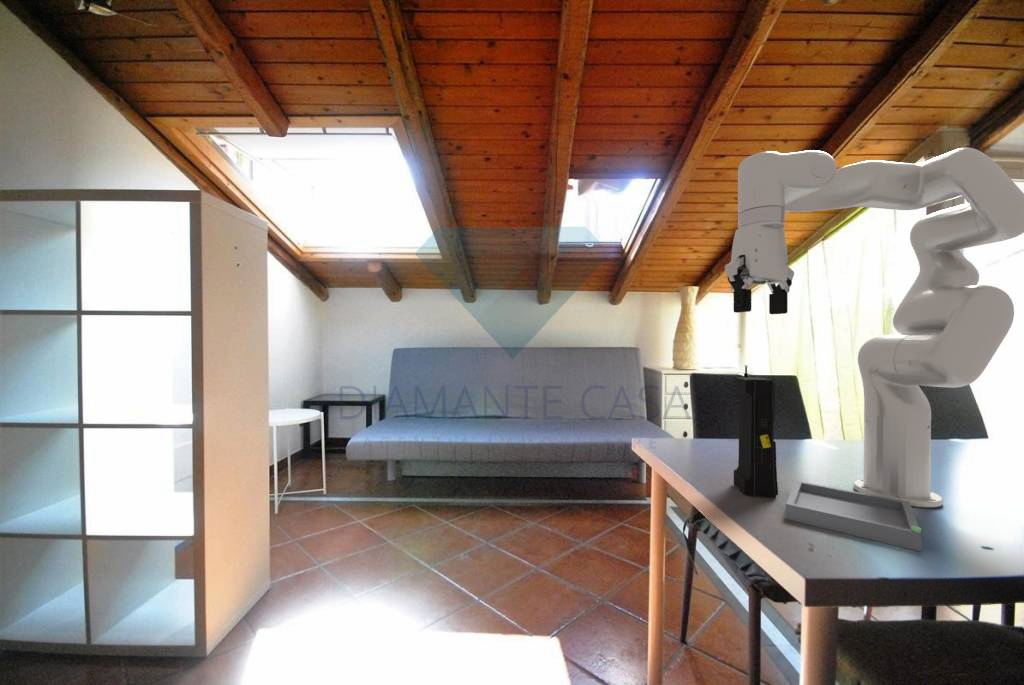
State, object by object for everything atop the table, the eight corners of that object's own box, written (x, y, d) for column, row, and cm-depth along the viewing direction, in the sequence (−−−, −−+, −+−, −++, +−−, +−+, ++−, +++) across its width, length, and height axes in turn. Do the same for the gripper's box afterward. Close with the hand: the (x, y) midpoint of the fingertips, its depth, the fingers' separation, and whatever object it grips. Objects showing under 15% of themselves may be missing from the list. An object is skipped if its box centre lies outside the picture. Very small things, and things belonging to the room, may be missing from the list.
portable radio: (782, 501, 75) (783, 367, 75) (746, 498, 76) (748, 366, 76) (764, 486, 83) (765, 365, 83) (732, 484, 84) (734, 365, 84)
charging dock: (795, 493, 79) (796, 477, 79) (909, 516, 69) (909, 498, 69) (785, 518, 67) (785, 500, 67) (921, 551, 57) (921, 529, 57)
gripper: (772, 232, 82) (772, 315, 82) (710, 222, 76) (710, 312, 76) (811, 222, 75) (811, 313, 75) (746, 210, 69) (746, 309, 69)
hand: (760, 312), depth 76 cm, fingers open, 9 cm apart
